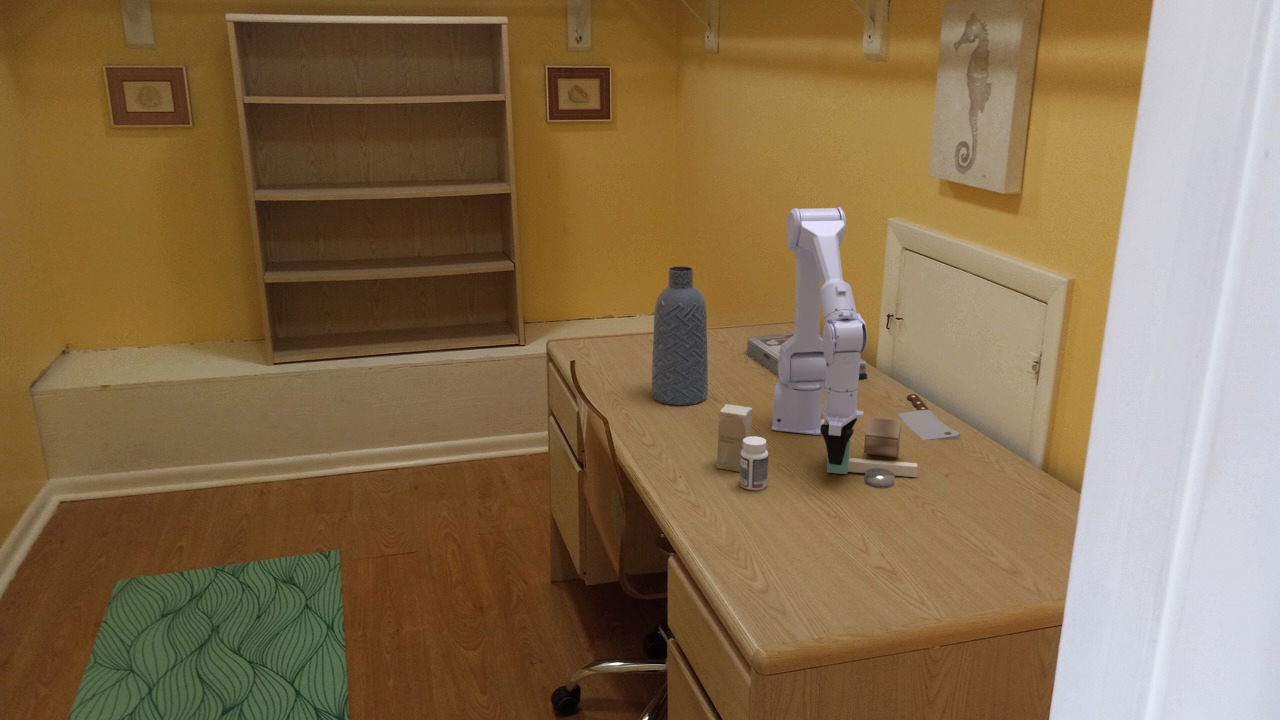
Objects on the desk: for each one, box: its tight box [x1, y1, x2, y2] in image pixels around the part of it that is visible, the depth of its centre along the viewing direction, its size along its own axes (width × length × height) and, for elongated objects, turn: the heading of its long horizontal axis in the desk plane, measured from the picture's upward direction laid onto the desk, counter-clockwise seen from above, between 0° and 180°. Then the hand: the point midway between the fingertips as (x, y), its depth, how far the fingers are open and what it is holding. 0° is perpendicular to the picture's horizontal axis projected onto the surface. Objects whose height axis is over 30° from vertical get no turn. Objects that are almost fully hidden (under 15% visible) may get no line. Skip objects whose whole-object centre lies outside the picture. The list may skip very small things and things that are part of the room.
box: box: [716, 403, 753, 473], centre depth 179 cm, size 5×4×11 cm
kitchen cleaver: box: [896, 393, 961, 441], centre depth 204 cm, size 24×1×10 cm
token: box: [864, 468, 896, 489], centre depth 174 cm, size 5×5×2 cm
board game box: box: [746, 332, 868, 381], centre depth 237 cm, size 18×27×4 cm
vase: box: [650, 266, 709, 406], centre depth 212 cm, size 12×12×28 cm
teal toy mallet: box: [826, 438, 918, 478], centre depth 177 cm, size 16×4×6 cm, turn 81°
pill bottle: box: [739, 435, 769, 491], centre depth 172 cm, size 5×5×8 cm
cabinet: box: [863, 417, 902, 459], centre depth 181 cm, size 6×9×7 cm, turn 163°
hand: (836, 459), depth 178 cm, fingers closed on teal toy mallet, 4 cm apart
